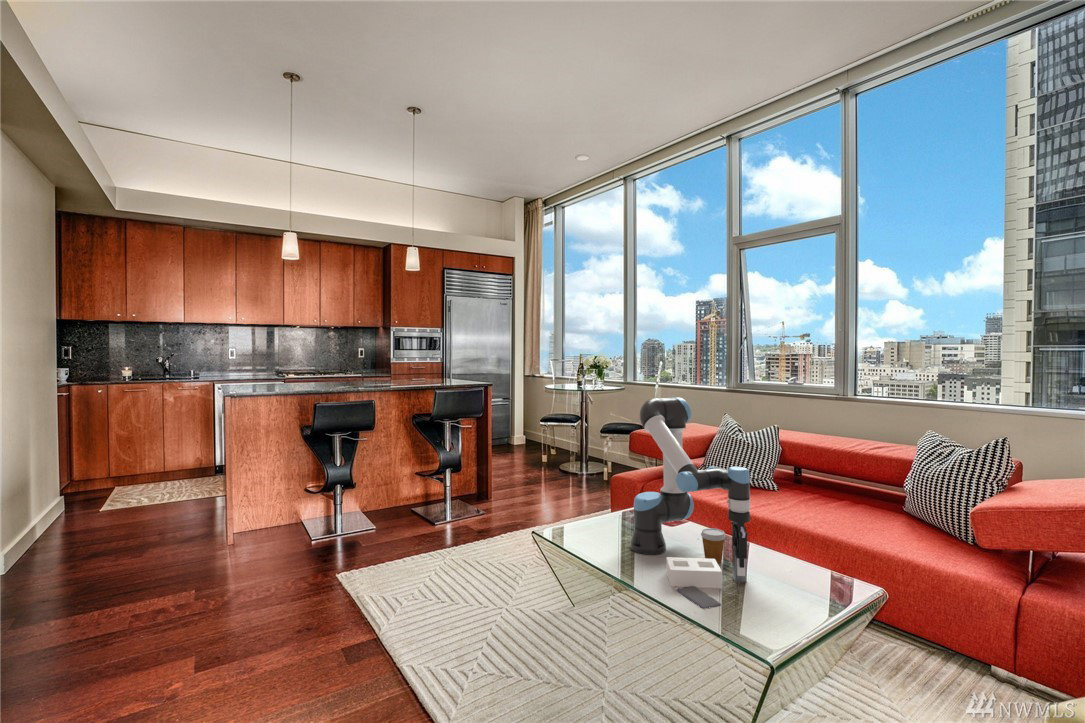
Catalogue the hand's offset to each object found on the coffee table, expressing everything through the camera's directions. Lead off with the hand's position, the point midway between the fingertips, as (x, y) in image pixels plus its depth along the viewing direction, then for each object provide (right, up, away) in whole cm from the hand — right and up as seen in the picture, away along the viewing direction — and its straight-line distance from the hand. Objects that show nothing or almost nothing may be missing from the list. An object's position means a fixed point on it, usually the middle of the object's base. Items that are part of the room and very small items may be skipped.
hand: (739, 572), depth 192 cm
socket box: (-17, -3, 0) cm, 17 cm away
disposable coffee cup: (-4, -3, +18) cm, 18 cm away
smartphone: (-19, -4, -14) cm, 24 cm away
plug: (0, -3, 0) cm, 3 cm away
